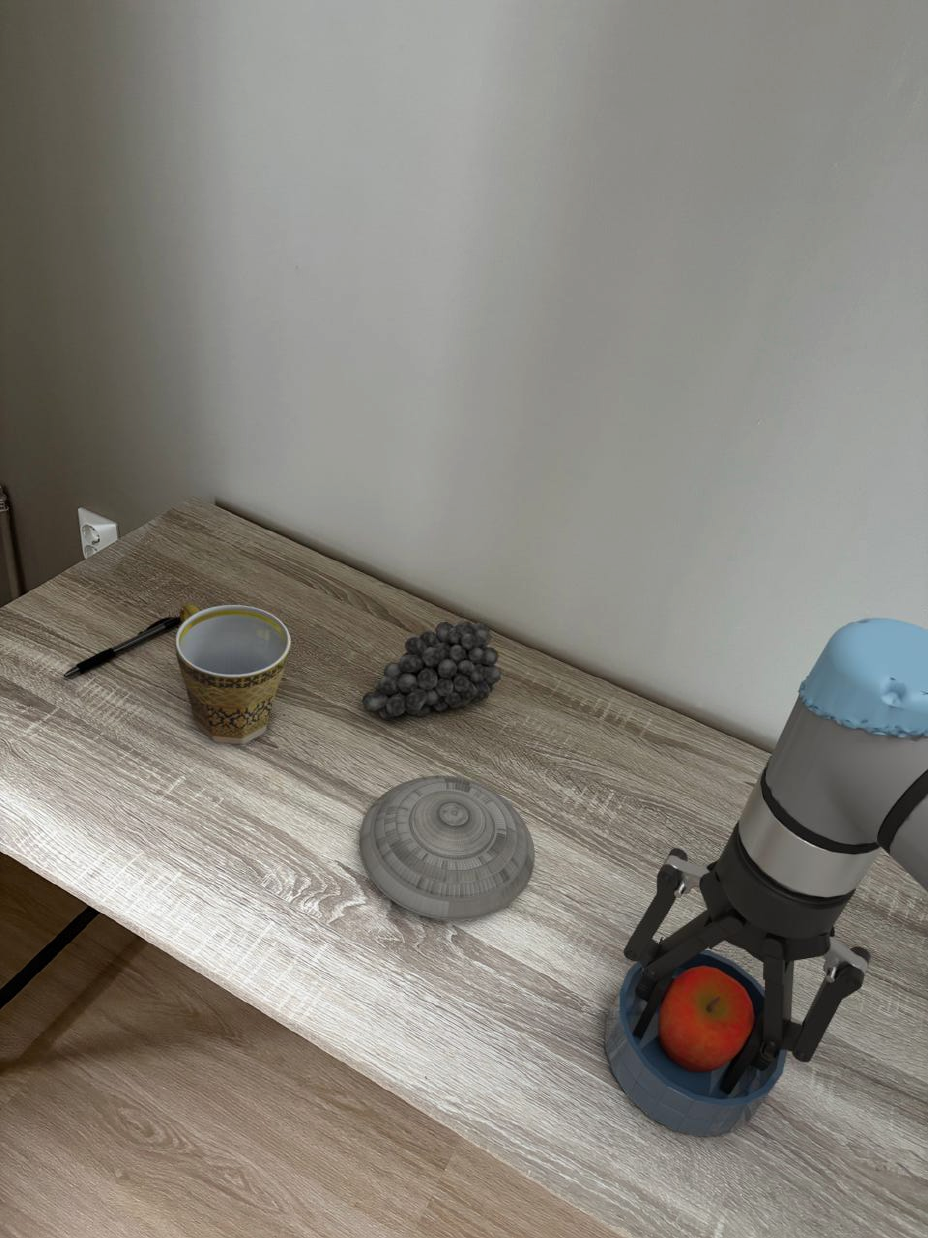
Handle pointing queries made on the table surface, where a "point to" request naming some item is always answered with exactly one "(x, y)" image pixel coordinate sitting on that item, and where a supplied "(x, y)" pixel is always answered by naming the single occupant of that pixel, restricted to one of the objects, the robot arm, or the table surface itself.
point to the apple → (704, 1019)
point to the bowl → (671, 1088)
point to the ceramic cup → (231, 668)
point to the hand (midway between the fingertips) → (687, 1048)
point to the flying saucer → (447, 848)
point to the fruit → (438, 672)
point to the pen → (124, 646)
